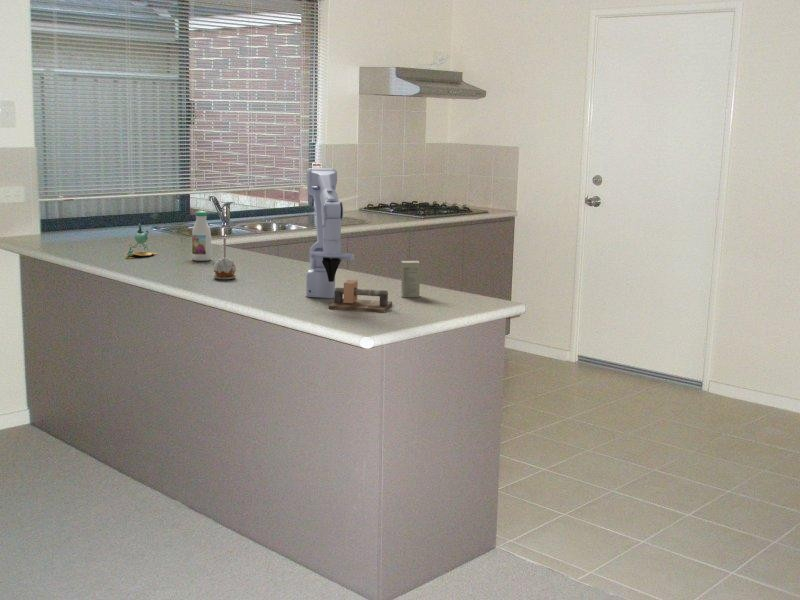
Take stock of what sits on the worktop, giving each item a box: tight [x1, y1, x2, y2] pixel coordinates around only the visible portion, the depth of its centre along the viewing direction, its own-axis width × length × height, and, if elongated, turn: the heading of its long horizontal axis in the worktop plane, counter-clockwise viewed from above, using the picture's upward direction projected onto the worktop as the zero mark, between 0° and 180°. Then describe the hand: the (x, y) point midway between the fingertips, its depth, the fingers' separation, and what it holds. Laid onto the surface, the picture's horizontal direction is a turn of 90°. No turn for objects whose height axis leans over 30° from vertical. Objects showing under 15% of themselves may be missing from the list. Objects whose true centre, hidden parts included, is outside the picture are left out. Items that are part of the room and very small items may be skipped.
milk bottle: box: [191, 210, 212, 262], centre depth 387 cm, size 8×8×20 cm
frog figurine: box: [125, 223, 157, 260], centre depth 393 cm, size 10×18×15 cm, turn 144°
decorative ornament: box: [213, 237, 237, 281], centre depth 346 cm, size 8×8×15 cm
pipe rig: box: [328, 287, 393, 313], centre depth 303 cm, size 18×13×6 cm
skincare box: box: [401, 260, 421, 298], centre depth 322 cm, size 6×4×12 cm
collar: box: [343, 279, 359, 303], centre depth 303 cm, size 3×6×6 cm, turn 169°
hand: (331, 281), depth 304 cm, fingers closed
